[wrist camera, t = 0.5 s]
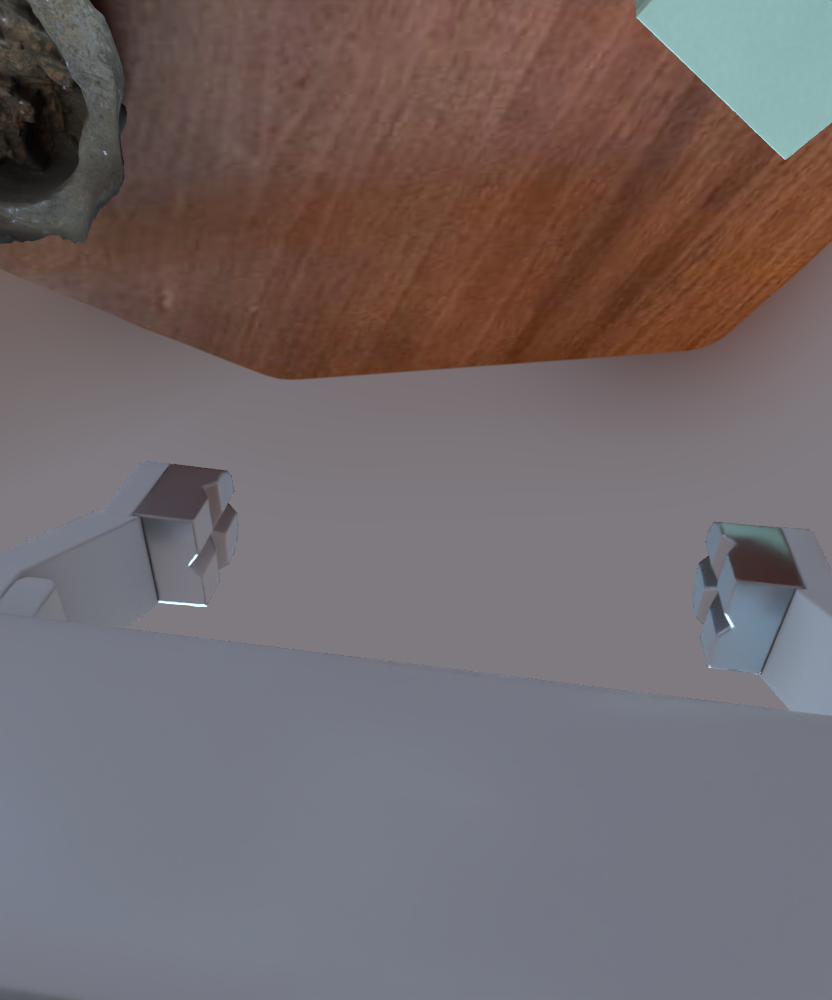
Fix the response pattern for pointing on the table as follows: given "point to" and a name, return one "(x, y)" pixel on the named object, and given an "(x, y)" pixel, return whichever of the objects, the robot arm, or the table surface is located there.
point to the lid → (756, 59)
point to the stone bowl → (57, 118)
